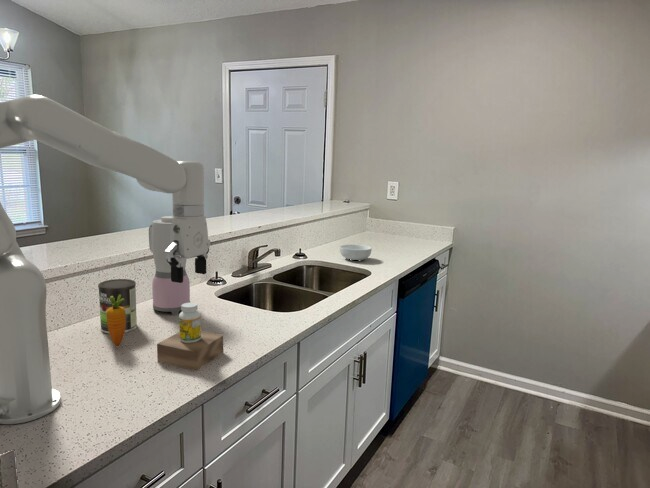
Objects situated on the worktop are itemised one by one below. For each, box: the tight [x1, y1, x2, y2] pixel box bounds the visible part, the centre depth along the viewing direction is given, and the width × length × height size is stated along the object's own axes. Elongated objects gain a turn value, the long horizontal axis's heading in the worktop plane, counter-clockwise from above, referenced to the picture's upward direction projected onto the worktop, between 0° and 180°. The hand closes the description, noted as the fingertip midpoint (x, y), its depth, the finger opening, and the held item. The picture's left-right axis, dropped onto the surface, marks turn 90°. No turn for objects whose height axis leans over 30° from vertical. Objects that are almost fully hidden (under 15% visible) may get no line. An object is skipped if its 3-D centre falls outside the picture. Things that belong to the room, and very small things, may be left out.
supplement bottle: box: [178, 302, 202, 343], centre depth 118 cm, size 5×5×10 cm
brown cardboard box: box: [156, 330, 224, 372], centre depth 120 cm, size 12×12×5 cm
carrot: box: [106, 295, 126, 348], centre depth 123 cm, size 5×5×15 cm
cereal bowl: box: [339, 243, 372, 261], centre depth 243 cm, size 17×17×7 cm
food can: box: [97, 278, 138, 335], centre depth 137 cm, size 10×10×14 cm
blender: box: [148, 215, 191, 316], centre depth 154 cm, size 16×12×32 cm
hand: (189, 277), depth 116 cm, fingers open, 9 cm apart
